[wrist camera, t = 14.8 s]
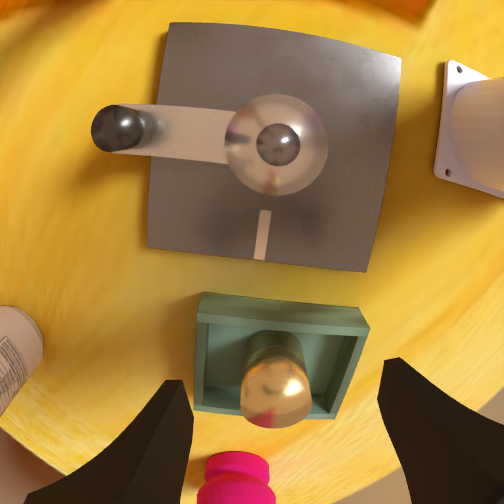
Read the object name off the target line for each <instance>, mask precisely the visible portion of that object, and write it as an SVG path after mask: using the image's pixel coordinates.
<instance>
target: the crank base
mask: <svg viewBox="0 0 504 504" xmlns="http://www.w3.org/2000/svg"><path fill="white" fill-rule="evenodd" d="M401 62H402V59H401V58H398V57H395V56H392V55H389V54H386V53H382V52H379V51H376V50H372V49H369V48H365V47H362V46H358V45H354V44H350V43H346V42H342V41H338V40H334V39H329V38H324V37H320V36H315V35H309V34H304V33H298V32H293V31H286V30H280V29H272V28H265V27H256V26H246V25H235V24H220V23H192V22H172V23H170V25H169V30H168V35H167V41H166V46H165V52H164V58H163V64H162V71H161V77H160V84H159V91H158V99H157V105H167V106H182V107H195V108H206V109H216V110H225V111H233V112H237V111H238V110H239V109H240V108H241V107H242V106H243V105H244V104H246V103H247V102H249V101H250V100H252V99H255V98H257V97H260V96H263V95H269V94H283V95H288V96H292V97H295V98H297V99H299V100H301V101H303V102H305V103H306V104H308V105H309V106H310V107H311V108H312V109H313V110H314V111H315V112H316V113H317V114H318V115H319V117H320V118H321V120H322V122H323V124H324V126H325V128H326V132H327V136H328V155H327V159H326V162H325V165H324V167H323V169H322V171H321V172H320V174H319V175H318V176H317V178H316V179H315V180H314V181H313V182H312V183H311V184H309V185H308V186H307V187H305V188H303V189H302V190H300V191H297V192H295V193H292V194H288V195H278V196H275V195H267V194H262V193H259V192H257V191H254V190H252V189H251V188H249V187H247V186H246V185H244V184H243V183H242V182H241V181H240V180H239V179H238V178H237V177H236V176H235V174H234V173H233V171H232V170H231V168H230V166H229V164H222V163H214V162H206V161H197V160H188V159H178V158H168V157H157V156H151V167H150V181H149V199H148V221H147V247H150V248H159V249H167V250H175V251H183V252H191V253H200V254H208V255H216V256H225V257H233V258H242V259H250V260H259V261H267V262H276V263H285V264H293V265H302V266H311V267H319V268H328V269H337V270H346V271H355V272H364V273H366V270H367V267H368V263H369V259H370V255H371V251H372V246H373V242H374V238H375V234H376V229H377V225H378V220H379V215H380V211H381V206H382V201H383V196H384V191H385V185H386V180H387V174H388V168H389V163H390V156H391V150H392V143H393V137H394V129H395V122H396V114H397V105H398V96H399V86H400V75H401Z"/></svg>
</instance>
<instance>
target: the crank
mask: <svg viewBox="0 0 504 504" xmlns="http://www.w3.org/2000/svg"><path fill="white" fill-rule="evenodd" d="M91 135H92V139H93V141H94V143H95V145H96V146H97V147H98V148H100V149H101V150H103V151H106V152H113V153H117V154H132V155H145V156H157V157H168V158H178V159H188V160H197V161H206V162H214V163H222V164H229V166H230V168H231V170H232V171H233V173H234V174H235V176H236V177H237V178H238V179H239V180H240V181H241V182H242V183H243V184H244V185H246V186H247V187H249V188H251V189H252V190H254V191H257V192H259V193H262V194H267V195H275V196H278V195H288V194H292V193H295V192H297V191H300V190H302V189H303V188H305V187H307V186H308V185H309V184H311V183H312V182H313V181H314V180H315V179H316V178H317V176H318V175H319V174H320V172H321V171H322V169H323V167H324V165H325V162H326V159H327V155H328V136H327V132H326V128H325V126H324V124H323V122H322V120H321V118H320V117H319V115H318V114H317V113H316V112H315V111H314V110H313V109H312V108H311V107H310V106H309V105H308V104H306V103H305V102H303V101H301V100H299V99H297V98H295V97H292V96H288V95H283V94H269V95H263V96H260V97H257V98H255V99H252V100H250V101H249V102H247V103H246V104H244V105H243V106H242V107H241V108H240V109H239V110H238V111H237V112H233V111H225V110H216V109H206V108H195V107H182V106H167V105H147V104H118V105H110V106H107V107H105V108H103V109H101V110H100V111H99V112H98V113H97V115H96V116H95V118H94V120H93V122H92V126H91Z"/></svg>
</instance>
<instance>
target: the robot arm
mask: <svg viewBox="0 0 504 504" xmlns="http://www.w3.org/2000/svg"><path fill="white" fill-rule="evenodd" d="M457 68H458V69H459V73H458V71H457ZM447 169H448V175H447V176H446V174H445V171H446V170H447ZM434 175H435V176H436V177H438V178H440V179H444V180H447V181H451V182H454V183H458V184H461V185H464V186H467V187H471V188H474V189H477V190H480V191H483V192H486V193H489V194H492V195H495V196H498V197H501V198H504V77H501V78H493V79H490V78H488V77H486V76H484V75H482V74H480V73H479V72H477V71H475V70H473V69H471V68H469V67H467V66H465V65H462V64H460V63H458V62H456V61H454V60H449V61H446V63H445V72H444V88H443V100H442V111H441V120H440V128H439V136H438V143H437V150H436V157H435V163H434ZM377 401H378V404H379V408H380V412H381V415H382V419H383V422H384V425H385V427H386V429H387V432H388V434H389V437H390V439H391V441H392V444H393V446H394V448H395V451H396V453H397V456H398V458H399V460H400V463H401V465H402V468H403V471H404V474H405V477H406V481H407V485H408V489H409V493H410V497H411V501H412V504H504V425H502V424H500V423H497V422H495V421H493V420H490V419H488V418H486V417H484V416H482V415H480V414H478V413H476V412H475V411H473V410H471V409H469V408H467V407H466V406H464V405H462V404H461V403H459V402H458V401H456V400H455V399H453V398H452V397H450V396H449V395H447V394H446V393H444V392H443V391H442V390H440V389H439V388H438V387H436V386H435V385H434V384H432V383H431V382H430V381H429V380H427V379H426V378H425V377H424V376H422V375H421V374H420V373H419V372H417V371H416V370H415V369H414V368H412V367H411V366H410V365H409V364H408V363H406V362H405V361H404V360H403V359H401V358H400V357H398V358H393V359H388V360H384V366H383V372H382V377H381V382H380V388H379V393H378V397H377ZM193 423H194V416H193V413H192V410H191V407H190V404H189V401H188V397H187V394H186V391H185V388H184V385H183V381H182V380H166V381H165V382H164V383H163V384H162V385H161V387H160V388H159V389H158V390H157V392H156V393H155V394H154V396H153V397H152V398H151V399H150V401H149V402H148V403H147V404H146V406H145V407H144V408H143V409H142V411H141V412H140V413H139V414H138V415H137V416H136V418H135V419H134V420H133V421H132V422H131V423H130V424H129V426H128V427H127V428H126V429H125V430H124V431H123V432H122V433H121V434H120V435H119V436H118V437H117V438H116V439H115V440H114V441H113V442H112V443H111V444H110V445H109V446H108V447H106V448H105V449H104V450H103V451H102V452H101V453H99V454H98V455H97V456H96V457H94V458H93V459H92V460H90V461H89V462H87V463H86V464H85V465H83V466H82V467H80V468H79V469H77V470H76V471H74V472H73V473H71V474H69V475H68V476H66V477H64V478H62V479H60V480H59V481H57V482H55V483H52V484H51V485H48V486H46V487H43V488H41V489H39V490H37V491H34V492H31V493H29V494H28V495H27V497H26V499H25V501H24V503H23V504H180V498H181V491H182V486H183V481H184V477H185V472H186V467H187V463H188V458H189V453H190V449H191V444H192V436H193Z"/></svg>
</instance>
